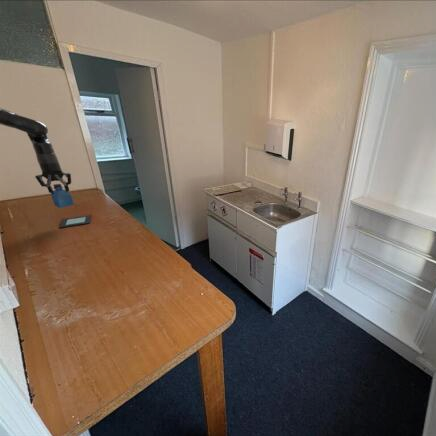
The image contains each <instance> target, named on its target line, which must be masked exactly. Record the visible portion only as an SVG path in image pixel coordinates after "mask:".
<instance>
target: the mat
mask: <svg viewBox="0 0 436 436" xmlns="http://www.w3.org/2000/svg"><path fill="white" fill-rule="evenodd" d="M91 218H92V216H91V215H84V216H75V217H70V218H63V219H62V220H61V223H60V225H59V229H64V228H70V227H77V226H84V225H89V224H90V222H91Z"/></svg>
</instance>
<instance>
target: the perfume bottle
mask: <svg viewBox="0 0 436 436" xmlns="http://www.w3.org/2000/svg"><path fill="white" fill-rule="evenodd" d="M52 186H53V194H51V193H50V196H51V199H52V202H53V205H54V206H55V207H57V208H60V209H61V208H62V209H63V208H66V207H70V206H74V205H75V202H74V199H73V197H72V194H71V193H69V191H68V192H66V190H65V189H64V186H63V185H62V183H53V185H52Z"/></svg>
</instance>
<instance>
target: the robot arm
mask: <svg viewBox="0 0 436 436" xmlns="http://www.w3.org/2000/svg"><path fill="white" fill-rule="evenodd" d="M0 125H1V126H4V127H8V128H12V129H15V130H19V131H21V132H24V133H26V134H27V136H28V139H29V140H30V142H31V144H32V148H33V150H34V153H35V157H36V160H37V164H38V165H39V168H40V170H41V174H36V175H35V179H36V180H37V182H38V183H39V185H40V186H41V187H44V188H47V190H48V193H49V194H50V195H51V194H53V191H54V188H53V187H52V186H53V185H51V184H52V182H59V183H60V184H61V185H62V186H63V189H64V190H66V192H68V193H69V191H70V187H69V185H71V184H72V174H71V172H67V173H66V172H64V171H63V170H62V168H61V165H60V161H59V159H58V156H57V154H56V152H55V149H54V147H53V145H52V143H51V142H50V140H49V138H48V135H47V134H48V132H49V129H48V127H47V126H46V124H44V123H43V122H41V121H38V120H35V119H32V118H30V117H26V116H22V115H19V114H17V113H14V112H13V111H10V110H7V109H5V108H2V107H0ZM64 177H66V178H67V179H66V180H65V179H64ZM43 178H44V179H46V183H45V181H44V180H43Z"/></svg>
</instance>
